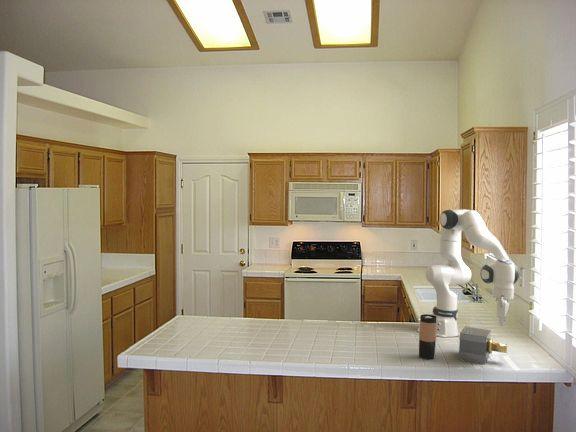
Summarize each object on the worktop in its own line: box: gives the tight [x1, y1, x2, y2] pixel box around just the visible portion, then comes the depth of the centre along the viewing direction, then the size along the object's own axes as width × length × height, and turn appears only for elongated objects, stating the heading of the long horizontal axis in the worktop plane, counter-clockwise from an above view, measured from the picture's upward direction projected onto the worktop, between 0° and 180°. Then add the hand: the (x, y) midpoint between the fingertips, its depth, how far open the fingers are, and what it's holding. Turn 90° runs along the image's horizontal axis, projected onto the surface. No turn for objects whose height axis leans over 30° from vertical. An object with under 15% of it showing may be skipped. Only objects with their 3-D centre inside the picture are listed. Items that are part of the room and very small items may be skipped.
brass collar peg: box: [487, 338, 508, 355], centre depth 253 cm, size 15×7×7 cm, turn 62°
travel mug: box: [418, 313, 437, 361], centre depth 254 cm, size 8×8×20 cm
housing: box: [458, 325, 492, 365], centre depth 256 cm, size 12×14×13 cm
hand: (502, 323), depth 249 cm, fingers open, 8 cm apart
